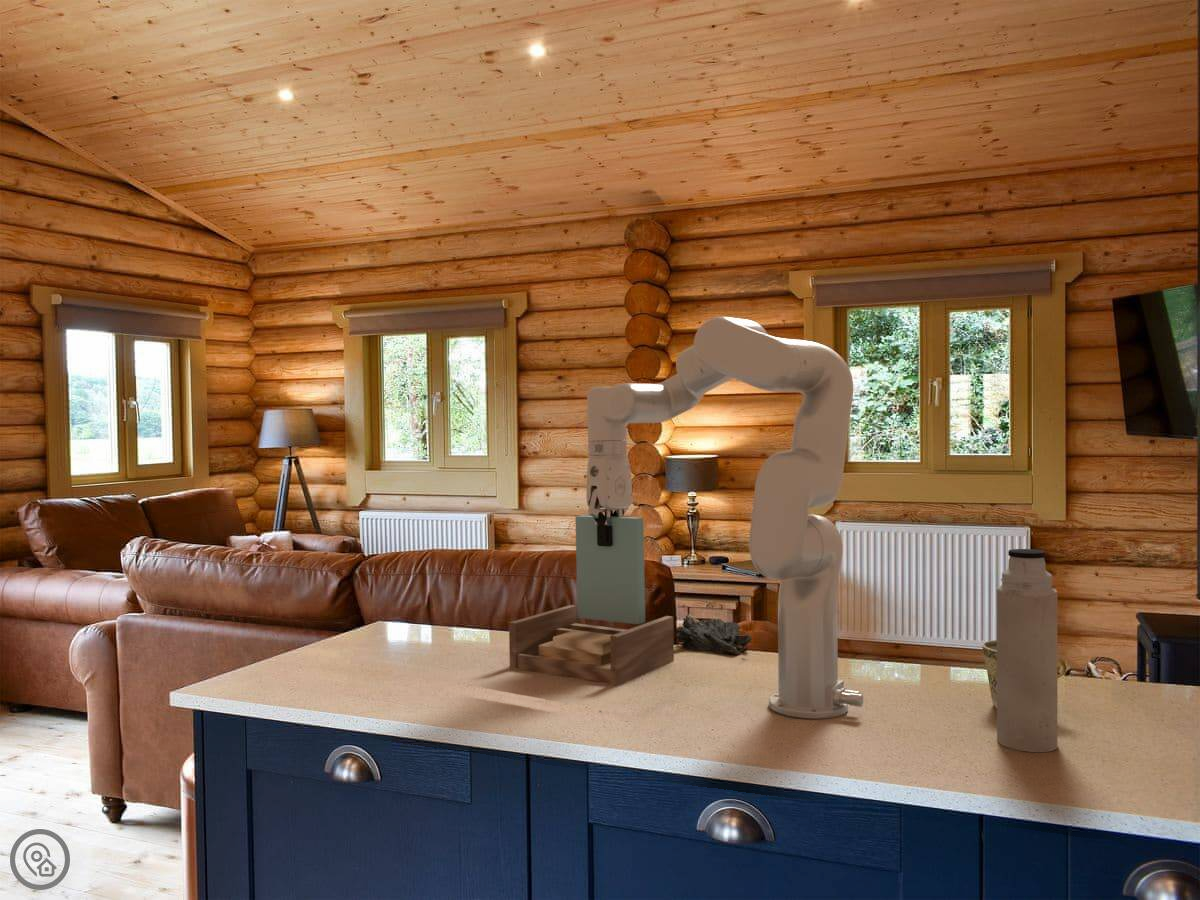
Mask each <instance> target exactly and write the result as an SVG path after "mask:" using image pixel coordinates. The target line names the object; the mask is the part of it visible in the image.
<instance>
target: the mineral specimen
mask: <svg viewBox="0 0 1200 900" xmlns="http://www.w3.org/2000/svg"><path fill="white" fill-rule="evenodd" d="M682 619H683V622H682V623H681V625H682V626H678V627H677V628H676V632H675V633H676V634H675V635H674V638H677V639H675V642H678V643H681V647H683V649H685V650H687V651H696V652H708V653H712V654H713V653H714V654H719V655H723V654H730V655H736V656H740V655H741V654H743V653H746V652H747V651H748V650H749V649H750V647H749V646H748V644H750V643H751V641H752V640H753V637H752V636H751V634H746V635H745V634H740V627H741V626H740V624H738V622H735V621H734V622H733V621H723V620H722V619H719V618H718V619H715V618H710V619H707V620H704V619H703V620H700V621H699V620H698V619H696V618H695V617H694V616H693V614H691V613H690V612H689V613H688V614H686V616H685V617H684V618H682Z"/></svg>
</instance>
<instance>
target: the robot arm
mask: <svg viewBox="0 0 1200 900" xmlns="http://www.w3.org/2000/svg"><path fill="white" fill-rule="evenodd" d="M693 339H694V340H693V345H690V346H689V347H688V348H685V349H684V350H682V351H681V352H680V353H678V356H676V357H677V358H676V362H675V370H676V374H674V375H673V376H671V377H669V378H667V379H665V380H663V381H661V382H658V383H644V382H641V383H640V382H638V383H635V382H625V383H618V384H615V385H610V386H609V385H603V386H593V387H591V388H589V390H588V391H587V393H586V394H587V396H586V406H587V408H586V409H587V452H588V453H587V454H588V455H587V457H588V458H587V459H588V462H587V469H586V485H585V486H586V489H585V492H586V493H585V494H586V504H587V507H588V510H587V514H588V516H592V517H593V518H594V519H595V525H597V545H598V546H608V547H610V546H612V545H613V539H612V526H611V525H610V516H614V517H624V515H625V513H626V512H627V510H629V508H630V507H631V505H633V485H632V484H633V483H632V474H631V473H632V472H631V466H630V461H629V460H630V459H629V457H628V450H627V448H628V441H627V440H628V439H627V438H628V437H627V436H628V435H627V424H658V423H664V422H667V421H669V420H671V419H673V418H676V417H678V416H680V415H681V414H683V413H686V412H688V411H690V410H691V409H693V408H694V407H696V405H698V404H699V403H700V401H701V400H702V399H703V398H704V397H705V394H706V393H708V392H711V391H712V390H713V389H715V388H717V387H719V386H721V385H723V384H725V383H727V382H729V381H731V380H733V379H734V380H738V381H739V382H741V383H744V384H746V385H749V386H752V387H754V388H756V389H759V390H762V391H763V390H764V391H767V392H775V393H800V394H801V395H802V396H803V399H802V402H801V404H800V406H799V408H798V411H797V413H796V416H795V418H794V423H793V434H792V435H793V436H792V441H791V447H790V449H787V450H786V449H785V450H781V451H778V452H775V453H773V454H772V455H770V456H769V457H768V458H767V459H766V460H765V461H764V462H763V463H762V465H761V467H760V469H759V471H758V473H757V476H756V479H755V486H754V491H753V492H754V494H753V502H752V508H751V509H752V512H751V519H750V529H749V530H750V531H749V538H748V539H749V541H748V544H749V545H748V547H749V548H748V549H749V555H750V559H751V562H752V564H753V566H754V568H755V569H756V570H757V572H759V574H761V575H762V576H763V577H765V578H767V579H770V580H775V581H780V583H779V590H778V596H777V597H778V598H777V632H778V633H777V646H778V647H777V653H778V657H777V661H778V662H777V664H778V666H777V667H778V675H777V676H778V678H777V679H778V682H777V683H778V692H777V693H775V694H773V695H771V696H770V697H769V698H768V706H769V708H770V709H771V710H772V711H774V712H776V713H778V714H780V715H784V716H788V717H792V718H799V719H800V718H801V719H816V720H817V719H818V720H819V719H831V718H837V717H839V716H842V715H844V714H846V712H848V710H849V706H851V707H853V706H854V707H859V708H862V707H863V704H864V695H863V694H862V693H861V692H860V691H857V690H849V689H847V688H845V687H844V685H845V684H844V683H845V682H844V680H842V679H839V677H838V676H839V675H838V673H839V671H838V670H839V668H838V667H839V665H838V663H839V662H838V660H839V659H838V657H839V656H838V655H839V653H838V651H839V650H838V649H839V648H838V647H839V645H838V644H839V643H838V641H839V640H838V613H839V612H838V611H839V609H838V607H839V605H838V603H839V598H838V597H839V582H840V581H839V580H840V572H841V568H842V560H843V547H844V546H843V540H842V536H841V533H840V531H839V529H838V527H837V526H836V525H835V524H834V523H833V522H832V521H831V520H830V519H828V518H827V517H824V516H822V515H818V514H812V513H810V514H809V511H810V509H816V508H821V507H825V506H827V505H830V504H832V503H833V502H834V501H835V500H837V498H838V497H839V495H840V493H841V490H842V485H843V479H844V478H843V477H844V476H843V475H844V468H845V461H846V453H847V445H848V444H847V443H848V431H849V424H850V417H851V416H850V415H851V411H852V405H853V398H854V381H853V376H852V372H851V370H850V368H849V365H848V364H847V362H846V361H845V360H844V358H843V357H842V356H841V354H839V353H837V352H836V351H835V350H833V349H832V348H831V347H828V346H827V345H824V344H820V343H819V342H814V341H812V340H811V341H809V340H803V339H793V338H783V337H776V336H773V335H769V334H768V333H767V330H766V329H765V328H764V327H763V326H761V324H759V323H757V322H755V321H753V320H750V319H745V318H737V317H730V316H715V317H712V318H709V319H708V320H706V321H705V322H703V323H701V325H700V326H699V327H698V329H697V331H696V332H695V336H694V338H693Z"/></svg>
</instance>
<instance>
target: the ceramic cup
mask: <svg viewBox="0 0 1200 900" xmlns="http://www.w3.org/2000/svg"><path fill="white" fill-rule="evenodd" d="M981 647H982V654H983V655H982V656H983V660H984V665H985V670H986V672H987V673H986V674H987V679H988V684H989V685H988V686H989V690H990V696H991V697H990V698H991V701H992V704H993V707H995V708H996V709H997V639H993V640H988V641H985V642H983V643H982V646H981ZM1057 663H1060V665H1061V666H1062V671H1061V672H1060V673H1059V674H1057V680H1058V679H1060V678H1061V677H1063V676H1064V675H1065V674H1066V672H1067V666H1066V663H1065V661H1064V660H1063V659H1061V657H1057Z"/></svg>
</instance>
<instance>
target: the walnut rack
mask: <svg viewBox="0 0 1200 900" xmlns="http://www.w3.org/2000/svg"><path fill="white" fill-rule="evenodd" d="M577 619H578V612H577V605H574V604H572V605H571V604H569V605H565V606H562V607H559V608H556V609H552V610H549V611H545V612H541V613H537V614H534V615H531V616H528V617H527V616H526V617H523V618H521V619H517V620H514V621H509V622H508V635H509V636H508V637H509V638H508V639H509V642H508V643H509V649H508V650H509V651H508V652H509V669H513V670H520V671H525V672H526V671H527V672H533V673H539V674H545V675H550V676H557V677H563V678H569V679H574V680H581V681H585V682H586V681H587V682H594V683H599V684H605V685H612V686H618V687H619V686H621V685H623V684H625V683H628V682H630V681H632V680H635V679H637V678H640V677H641V676H643V675H646V674H648V673H651V672H653V671H655V670H657V669H659V668H662V667H664V666H666V665H668V664H671V663H673V662H675V661H674V659H675V658H674V657H675V655H674V654H675V653H674V652H675V647H674V646H675V645H674V644H675V643H674V642H675V641H674V639H675V635H674V631H675V630H674V628H675V627H674V616H670V615H665V616H662V617H660V618H657V619H654V620H650V621H648V622H644V623H641V624H638V625H637V626H633V627H631V628H628V629H625V628H616V627H610V626H609V627H608V626H600V625H595V624H594V625H592V624H591V625H590V624H584V623H577V622H578V621H577ZM573 630H579V631H586V632H594V633H602V634H609V635H611V636H610V647H611V667H605V666H598V665H592V664H585V663H579V662H572V661H565V660H559V659H552V658H546V657H539V645H541V644H544V643H547V642H550V641H553V637H554V636H557V635H561V634H564V633H567V632H570V631H573Z"/></svg>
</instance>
